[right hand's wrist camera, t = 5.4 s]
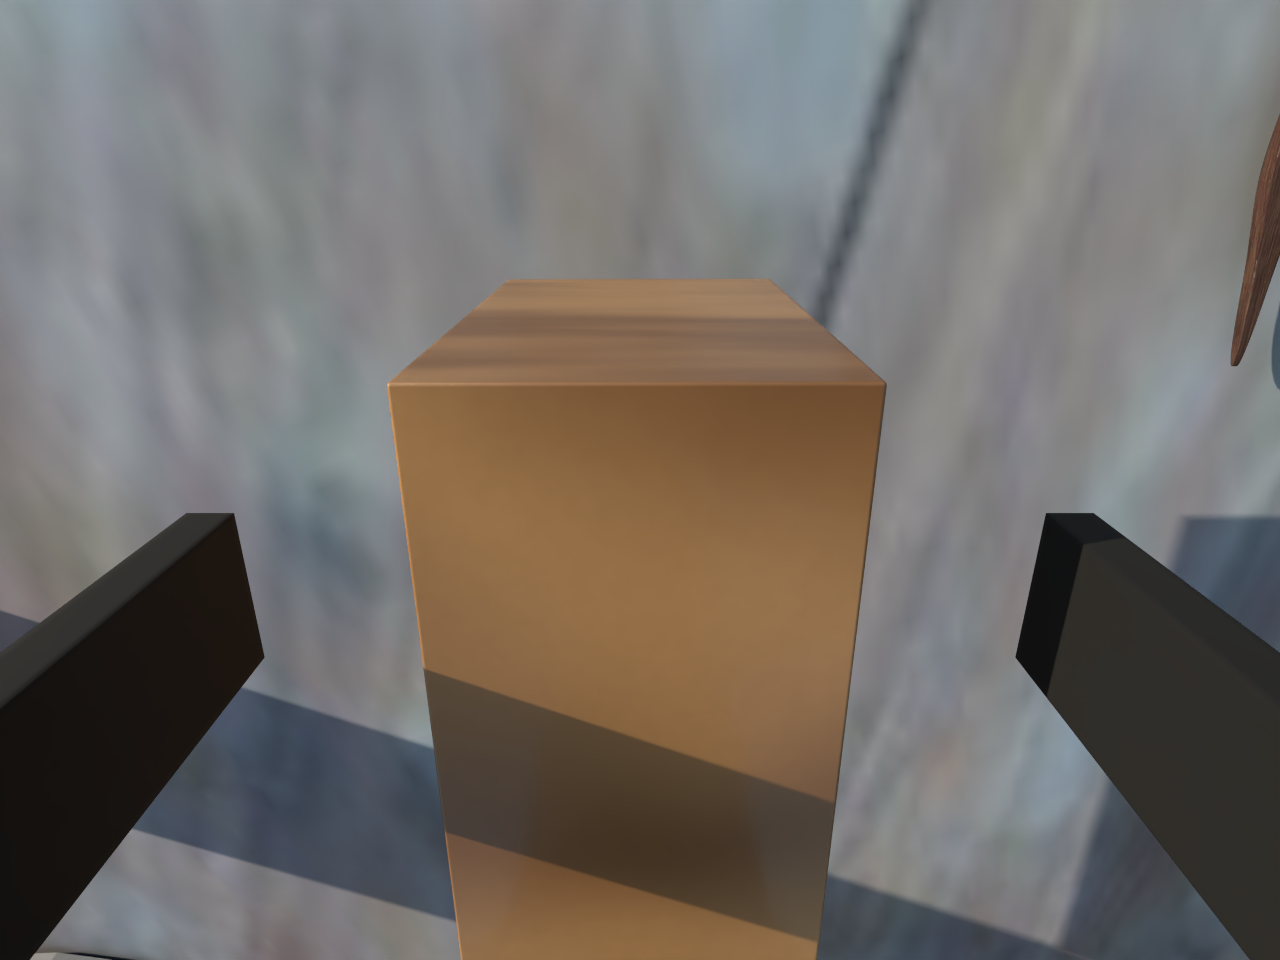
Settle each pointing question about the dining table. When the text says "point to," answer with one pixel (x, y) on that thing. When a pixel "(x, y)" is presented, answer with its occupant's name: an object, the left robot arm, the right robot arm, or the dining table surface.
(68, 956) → the wall clock
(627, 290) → the box
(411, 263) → the dining table surface
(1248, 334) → the fork
